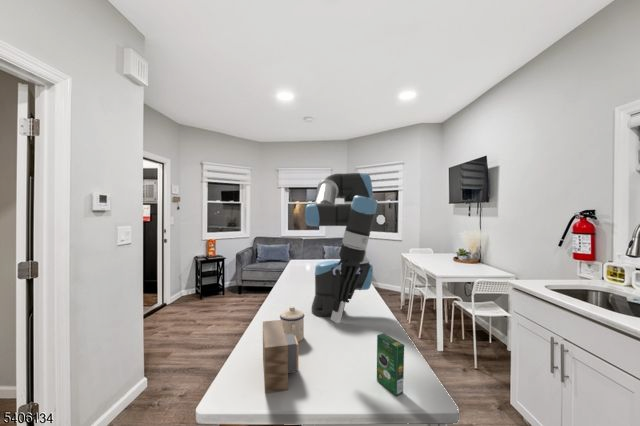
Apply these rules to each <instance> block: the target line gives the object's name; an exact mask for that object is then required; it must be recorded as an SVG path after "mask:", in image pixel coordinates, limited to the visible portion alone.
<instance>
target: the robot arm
mask: <svg viewBox="0 0 640 426" xmlns="http://www.w3.org/2000/svg"><path fill="white" fill-rule="evenodd" d="M373 193H374V191H373V184H372V179H371V176H370V175H369V173H361V172H352V173H346V172H345V173H341V172H340V173H333V174H330V175H328V176H326V177H324V178H322V180H320V182H319V183H318V184H317V186H316V198H315V201H314V203H309V204H307V205H306V206H305V210H304V211H305V212H304V216H305V217H304V219H305V220H304V221H305V224H306V225H307V226H308V227H309V226H310V227H314V226H315V227H345V230H344V233H343V236H342V239H341V240H342V243H343V244H341V246H340V250H339V253H338V255H339V257H340V259H339V260H326V261H322V262H319V263H317V264H316V265H315V268H314V276H315V277H314V281H315V282H314V297H313V300H312V302H311V313H312V314H313V315H315V316H319V317H323V318H324V317H327V318H328V317H330V320H331V321H333V322H334V323H335V324H340V323H341V320H342V316H343V314H344V310H345V307H346V303H347V304H349V303H350V300H352V298H353V296H354V294H355V291H357V290H358V291H367V290H369V289H370V288H371V286H372V280H373V269H374V268H373V265H372V264H370V260H369V258H368V257H367V247H368V243H369V239H370V235H371V231H372V227H373V223H374V219H375V216H376V213H377V207H378V201H377V200H376V199H373V196H374V194H373ZM336 199H343V200H344V201H343V202H344V203H336Z"/></svg>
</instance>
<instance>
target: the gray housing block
mask: <svg viewBox="0 0 640 426" xmlns="http://www.w3.org/2000/svg"><path fill="white" fill-rule="evenodd" d="M285 336H286V340H287V344H288V374H290V373H295V372H296V373H297V372H298V371H297V370H298V369H299V342H297V339H296V336H294V334H285Z"/></svg>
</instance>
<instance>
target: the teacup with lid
mask: <svg viewBox="0 0 640 426" xmlns="http://www.w3.org/2000/svg"><path fill="white" fill-rule="evenodd" d="M304 313H305V312H303V311H302V310H298V309H296V307H295V306H289V308H288V309H286V310H284V311H281V313H280V314H279V318H280V319H279V320H282V324H283V328H284V332H285V334H294V336H296V339H297V342H298V343H300V342H301V341H302V340H304V338H305V335H304V334H305V333H304V332H305V327H304V326H305V325H304V324H305V320H304V319H305V318H304V317H305V314H304Z"/></svg>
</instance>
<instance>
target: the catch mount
mask: <svg viewBox="0 0 640 426" xmlns="http://www.w3.org/2000/svg"><path fill="white" fill-rule="evenodd" d="M262 363H263V365H262V366H263V368H262V369H263V382H264V393H265V394H269V393H270V394H271V393H276V392H277V393H278V392H285V391H289V373H288V344H287V340H286V336H285V332H284V328H283V324H282V320H280V319H276V320H265V321H262Z"/></svg>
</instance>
